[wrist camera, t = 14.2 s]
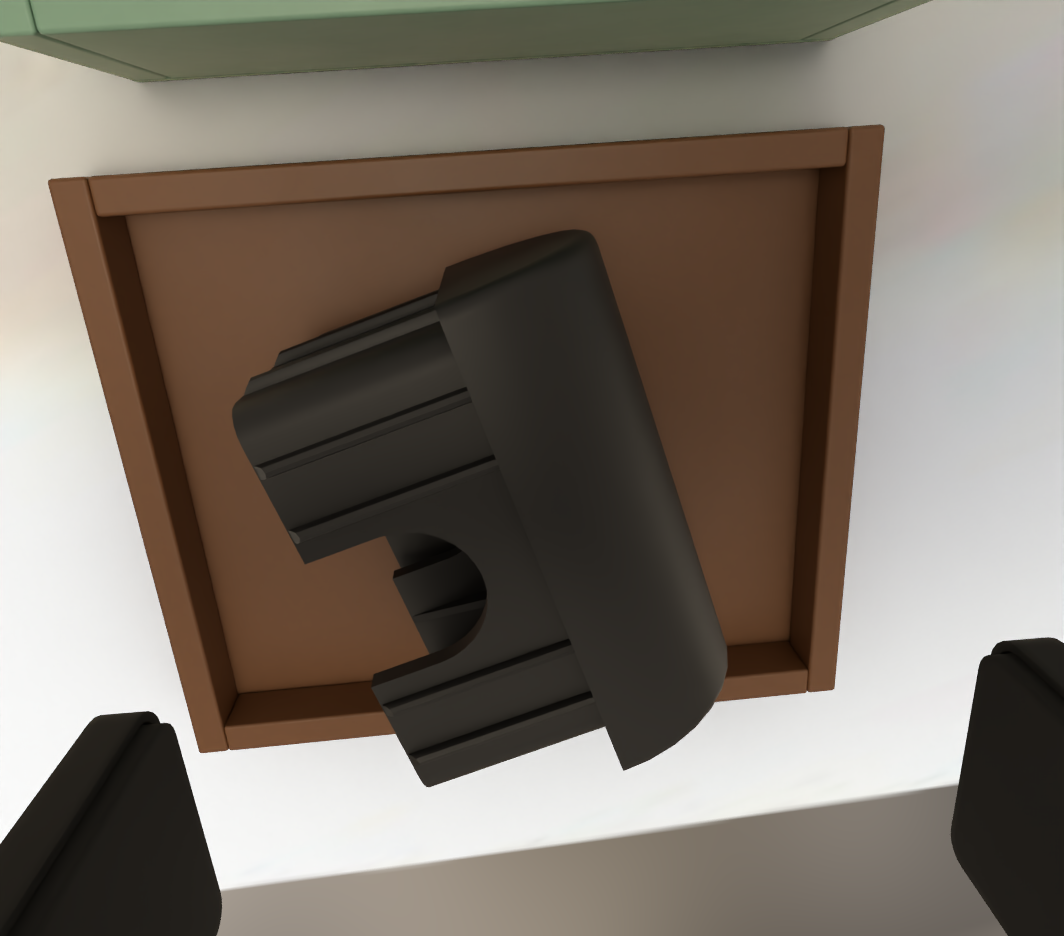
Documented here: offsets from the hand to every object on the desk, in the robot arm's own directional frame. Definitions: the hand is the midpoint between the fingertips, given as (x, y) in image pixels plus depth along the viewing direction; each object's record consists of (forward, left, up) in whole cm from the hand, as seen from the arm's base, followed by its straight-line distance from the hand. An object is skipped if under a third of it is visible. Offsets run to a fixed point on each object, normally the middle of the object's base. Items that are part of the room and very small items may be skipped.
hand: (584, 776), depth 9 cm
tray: (+1, 0, -12) cm, 12 cm away
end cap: (+1, 0, -12) cm, 12 cm away
